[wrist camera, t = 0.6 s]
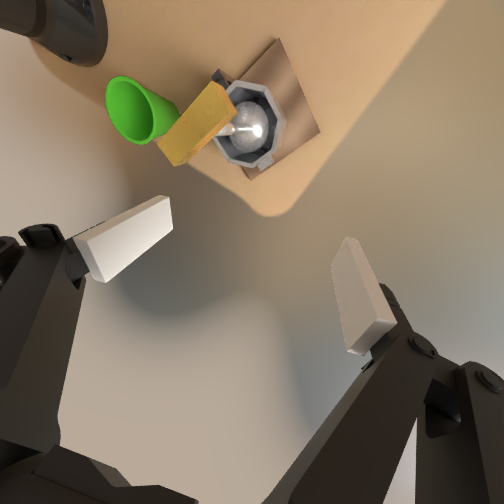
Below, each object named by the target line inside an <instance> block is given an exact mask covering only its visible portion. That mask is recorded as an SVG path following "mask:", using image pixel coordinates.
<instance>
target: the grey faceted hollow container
mask: <svg viewBox="0 0 504 504" xmlns="http://www.w3.org/2000/svg"><path fill="white" fill-rule="evenodd" d="M211 78H212V79H213V81H214V82H216V83H217V84H219V85H221V86H223V88H224V90H225V91H226V93H227V95H228V97H229V98H230V100H231V102H232V103H233V105H234V107H236V106H237V105H238V104H240V103H242V102H248V101H249V102H253V103H256V104H258V105H259V106H261V107H262V108H263V110H264V111H265V113H266V114H267V117H268V120H269V134H268V138H267V140H266V142H265V143H264V145H263V146H262V147H261V148H259V149H258V150H256V151H253V152H243V151H241V150H239V149H238V148H236V147H235V146H234V145H233V143H232V141H231V140H230V137H229V135H224V136H214V137H213V138H212V139H213V140H214V142H215V143H216V145H217V146H218V148H219V149H220V151H221V152H222V154H223V155H224V157H225V158H226V160H227V162H229V163H233V164H237V165H241V166H245V167H249V168H254V167H255V166H258V167H259V169H260V171H262V170H264V169H265V168H266V167H268V166H269V165H271V164H272V163H274V162H275V161H274V159H273V157H272V154H273V153H274V152H276V151H277V150H278V149H279V148H280V147H281V146H282V142H283V138H284V135H285V130H286V125H287V118H286V116H285V114H284V112H283V110H282V108H281V106H280V104H279V102H278V100H277V98H276V96H275V95H274V94H273V93H272V92H271V91H270V90H269V89H268V88H267V87H266V86H264V85H259V84H254V83H249V82H244V81H239V80H234V79H233V78H231V77H230V76H228V75H227V74H226V73H224V72H223V71H221V70H220V69H218V70H217V71H216V72H215V73H214V74H213V76H212V77H211Z"/></svg>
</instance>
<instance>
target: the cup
mask: <svg viewBox="0 0 504 504" xmlns="http://www.w3.org/2000/svg"><path fill="white" fill-rule="evenodd" d="M105 104H106V109H107V112H108V115H109V117H110V119H111V122H112V123H113V125H114V127H115V128H116V130H117V131H118V132H119V133H120V134H121V135H122V136H123V137H124V138H125V139H127V140H128V141H130V142H132V143H135V144H140V145H142V144H146V143H148V142H149V141H151V140H152V139H153V138H156V137H158V136H161V135H164V134H166V133H167V132H168V130H169V129H170V128H171V127H172V126H173V125H174V123H175V122H176V121H177V120H178V119H179V118H180V115H179V112H178V110H177V108H176V107H175V105H174V104H173V103H172V102H170V101H168V100H166V99H164V98H163V97H161V96H159V95H157V94H155V93H153V92H151V91H149V90H147V89H145V88H143V87H142V86H140V85H139V84H138V83H137V82H136V81H135V80H133V79H131V78H129V77H126V76H117V77H115V78H113V79H111V81H110V82H109V83H108V85H107V88H106V90H105Z"/></svg>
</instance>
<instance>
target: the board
mask: <svg viewBox="0 0 504 504" xmlns="http://www.w3.org/2000/svg"><path fill="white" fill-rule="evenodd" d="M239 81H244V82H249V83H254V84H259V85H264V86H266V87H267V88H268V89H269V90H270V91H271V92H272V93H273V94H274V95H275V96H276V98H277V100H278V102H279V104H280V106H281V108H282V110H283V112H284V114H285V116H286V118H287V125H286V130H285V135H284V138H283V142H282V146H281V147H280V148H279V149H278V150H277V151H276V152H274V153H273V154H272V157H273V159H274V161H275V162H274V163H272V164H271V165H269V166H268V167H266V168H265V169H264V170H262V171H260V169H259V167H258V166H255V167H254V168H249V167H245V166H242V167H243V169H244V170H245V172H246V174H247V175H248V177H249V178H250V180H253V179H254V178H255V177H257V176H258V175H260V174H261V173H263V172H264V171H266V170H267V169H268V168H270V167H271V166H273V165H274V164H276V163H277V162H279V161H280V160H281V159H283V158H284V157H286V156H287V155H289V154H290V153H292V152H293V151H294V150H296V149H297V148H299V147H300V146H302V145H303V144H304V143H306V142H307V141H309V140H310V139H312V138H313V137H315V136H316V135H317V134H319V133H320V130H319V128H318V125H317V123H316V121H315V119H314V116H313V114H312V112H311V109H310V107H309V105H308V102H307V100H306V98H305V96H304V93H303V91H302V89H301V86H300V84H299V82H298V80H297V77H296V75H295V73H294V70H293V68H292V66H291V63H290V61H289V59H288V57H287V54H286V52H285V50H284V47H283V45H282V43H281V41H280V38H278V39H277V40H276V41H275V42H274V44H273V45H272V46H271V47H270V48H269V49H268V50H267V51H266V52H265V53H264V54H263V55H262V56H261V57H260V58H259V59H258V60H257V61H256V63H255V64H254V65H253V66H252V67H251V68H250V69H249V70H248V71H247V72H246V73H245V74H244V75H243V76H242V77H241V78H240V79H239Z"/></svg>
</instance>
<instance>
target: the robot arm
mask: <svg viewBox="0 0 504 504" xmlns="http://www.w3.org/2000/svg"><path fill="white" fill-rule="evenodd" d="M0 28H1V29H4V30H8V31H11V32H14V33H17V34H20V35H23V36H26V37H29V38H31V39H32V40H34V41H35V42H37V43H38V44H40V45H42V46H43V47H45V48H46V49H48V50H49V51H51V52H52V53H54V54H56V55H57V56H59V57H60V58H62V59H64V60H65V61H68V62H70V63H73V64H76V65H80V66H84V67H91V66H94V65H96V64H97V63H99V62H100V60H101V59H102V58H103V56H104V53H105V50H106V46H107V38H108V30H107V20H106V14H105V9H104V5H103V2H102V0H0ZM172 229H173V225H172V218H171V210H170V202H169V197H166V196H162V195H159V196H156V197H154V198H153V199H150V200H148V201H147V202H144V203H142V204H140V205H138V206H136V207H134V208H132V209H130V210H128V211H126V212H124V213H122V214H120V215H118V216H116V217H114V218H112V219H110V220H107V221H104V222H102V223H100V224H98V225H96V226H94V227H92V228H90V229H89V230H88V229H87V230H85V231H83V232H81V233H79V234H77V235H75V236H73V237H71V238H69V239H67V240H65V239H64V237H63V235H62V233H61V231H60V230H59V228H58V226H56V225H54V224H39V225H33V226H29V227H26V228H24V229H22V230H20V231H19V232H18V233H19V235H20V236H21V238H22V239H23V241H24V242H25V243H26V245H27V246H20V245H19V243H18V242H17V241H16V239H15V238H13V237H8V236H2V237H0V504H198V502H199V501H198V500H196V499H193V498H190V497H188V496H186V495H183V494H181V493H178V492H175V491H173V490H170V489H168V488H165V487H162V486H160V485H149V486H131V485H130V484H129V482H128V481H127V480H126V479H125V478H124V477H123V476H122V475H121V474H120V473H119V471H118V470H117V469H116V468H113V467H111V466H108V465H106V464H103V463H101V462H99V461H96V460H94V459H91V458H89V457H86V456H84V455H81V454H79V453H76V452H73V451H71V450H68V449H66V448H63V447H61V446H60V438H61V437H60V436H61V435H60V427H59V424H58V418H57V415H58V409H59V404H60V399H61V395H62V390H63V386H64V381H65V376H66V372H67V367H68V363H69V358H70V353H71V348H72V344H73V339H74V335H75V330H76V325H77V321H78V316H79V312H80V307H81V302H82V297H83V293H84V288H85V284H86V278H85V276H84V275H85V274H87V273H88V272H90V273H91V275H92V277H93V279H94V280H97V281H101V282H104V283H107V282H108V281H109V280H110V279H112V278H113V277H114V276H115V275H116V274H118V273H119V272H120V271H121V270H122V269H124V268H125V267H126V266H128V265H129V264H130V263H131V262H133V261H134V260H135V259H136V258H138V257H139V256H140V255H141V254H143V253H144V252H145V251H146V250H148V248H150V247H151V246H152V245H154V244H155V243H156V242H157V241H159V240H160V239H161V238H162V237H164V236H165V235H166V234H167V233H169V232H170V231H171V230H172ZM330 268H331V273H332V278H333V283H334V288H335V293H336V298H337V303H338V308H339V313H340V318H341V323H342V328H343V333H344V338H345V343H346V348H347V352H351V353H354V354H358V355H361V356H364V355H365V354H366V353H367V352H368V351H369V350H370V352H371V355H372V359H371V360H370V361H369V362H368V363H367V364H366V365H365V366H364V367H362V368H361V369H362V371H361V373H360V374H359V376H358V377H357V378H356V380H355V381H354V382H353V384H352V385H351V386H350V388H349V389H348V390H347V392H346V393H345V394H344V396H343V397H342V398H341V400H340V401H339V402H338V404H337V405H336V406H335V408H334V409H333V410H332V412H331V413H330V415H329V416H328V417H327V418H326V420H325V421H324V423H323V424H322V425H321V426H320V428H319V429H318V430H317V432H316V433H315V435H314V436H313V437H312V439H311V440H310V441H309V443H308V444H307V445H306V447H305V448H304V449H303V451H302V452H301V453H300V455H299V456H298V458H297V459H296V460H295V461H294V463H293V464H292V465H291V467H290V468H289V469H288V471H287V472H286V474H285V475H284V476H283V477H282V479H281V480H280V481H279V483H278V484H277V485H276V487H275V488H274V489H273V491H272V492H271V493H270V495H269V496H268V497H267V498H266V499H265V500H264V501H263V502H262V503H261V504H383V501H384V499H385V496H386V494H387V491H388V489H389V486H390V484H391V481H392V479H393V476H394V473H395V471H396V469H397V466H398V464H399V461H400V458H401V456H402V453H403V451H404V448H405V446H406V443H407V441H408V438H409V436H410V433H411V431H412V428H413V426H414V423H415V421H416V418H417V445H416V484H415V485H416V486H415V504H504V380H503V379H502V378H501V377H500V376H498V375H497V374H496V373H495V372H493V371H492V370H490V369H489V368H487V367H485V366H484V365H481V364H479V363H477V362H471V361H469V362H467V363H465V364H463V365H461V366H459V365H458V364H456V363H454V362H452V361H450V360H448V359H446V358H444V357H442V356H440V355H439V354H438V352H437V350H436V349H435V347H434V346H433V345H432V344H431V343H430V342H429V341H428V340H427V339H426V338H424V337H423V336H421V335H419V334H418V333H416V332H414V331H413V330H412V327H411V326H410V324H409V322H408V320H407V318H406V316H405V315H404V313H403V311H402V309H401V308H400V305H399V304H398V302H397V300H396V298H395V296H394V294H393V292H392V291H391V290H390V289H389V288H388V287H387V286H386V285H385V284H381V283H378V282H377V280H376V278H375V276H374V273H373V271H372V269H371V267H370V265H369V263H368V261H367V259H366V257H365V255H364V253H363V251H362V249H361V247H360V244H359V243H358V240H357V239H354V238H349V237H345V239H344V241H343V243H342V245H341V247H340V249H339V251H338V253H337V255H336V257H335V259H334V261H333V263H332V265H331V267H330Z"/></svg>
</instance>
